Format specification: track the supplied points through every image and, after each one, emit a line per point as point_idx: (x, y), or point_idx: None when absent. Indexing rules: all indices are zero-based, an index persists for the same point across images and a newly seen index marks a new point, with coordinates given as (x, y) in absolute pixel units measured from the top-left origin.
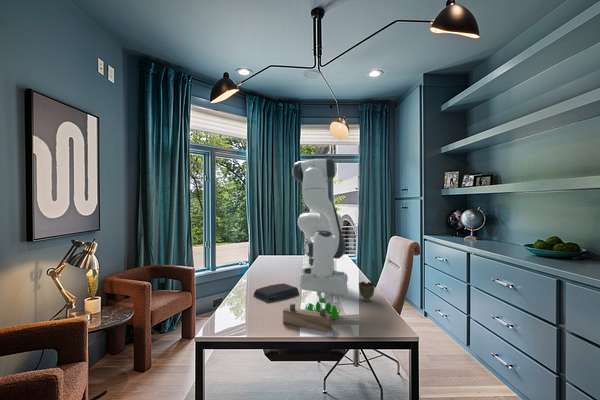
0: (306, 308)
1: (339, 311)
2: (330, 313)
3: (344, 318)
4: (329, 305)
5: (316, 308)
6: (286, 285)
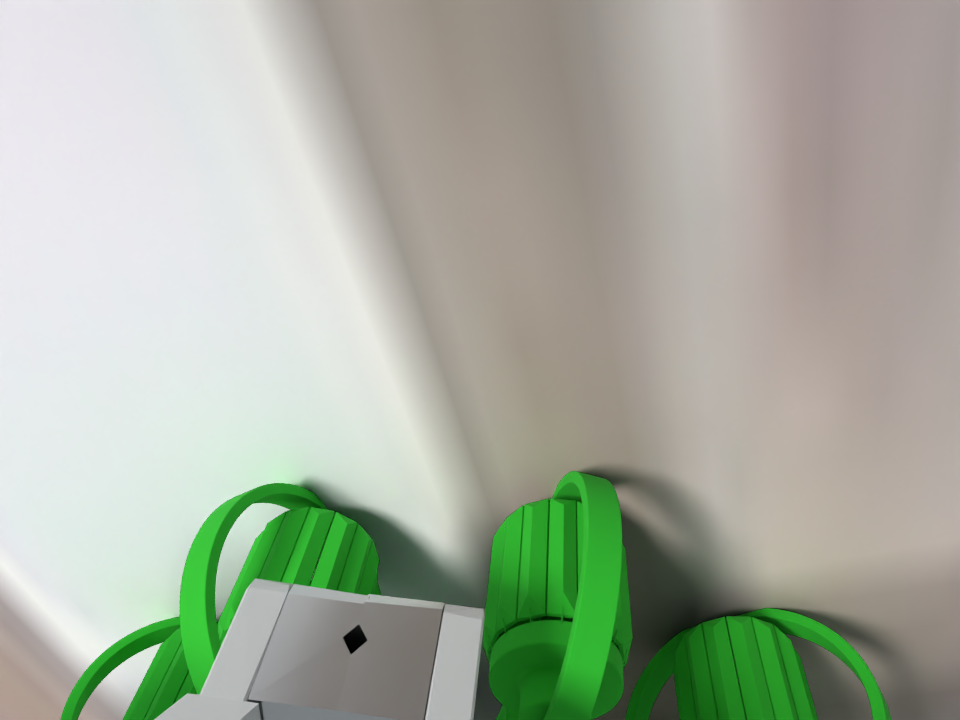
0: (96, 676)
1: (872, 686)
2: (650, 704)
3: (946, 701)
4: (604, 709)
5: None
6: None
